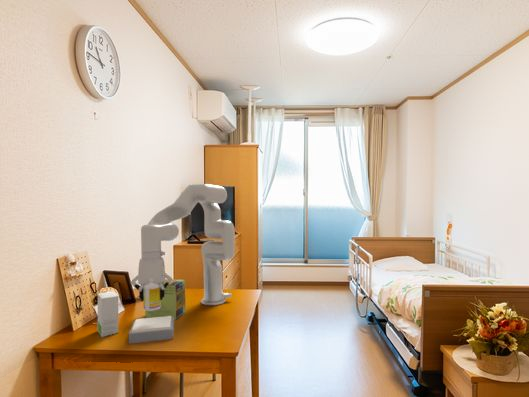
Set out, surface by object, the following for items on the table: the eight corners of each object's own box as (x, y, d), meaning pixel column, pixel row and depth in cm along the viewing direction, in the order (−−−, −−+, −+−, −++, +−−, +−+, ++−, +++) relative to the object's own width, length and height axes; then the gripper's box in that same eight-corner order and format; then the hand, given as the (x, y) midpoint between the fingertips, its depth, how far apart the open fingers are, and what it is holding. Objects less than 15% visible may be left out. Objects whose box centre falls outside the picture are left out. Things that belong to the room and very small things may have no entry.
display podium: (174, 325, 142) (173, 314, 142) (173, 338, 128) (172, 327, 128) (134, 329, 138) (134, 318, 138) (128, 343, 125) (128, 331, 125)
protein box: (176, 320, 148) (175, 285, 148) (144, 318, 151) (144, 284, 151) (186, 312, 158) (185, 279, 158) (156, 310, 161) (156, 278, 161)
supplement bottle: (164, 306, 135) (163, 275, 135) (153, 312, 129) (153, 279, 129) (150, 305, 137) (150, 274, 137) (139, 310, 131) (139, 278, 131)
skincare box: (97, 331, 137) (96, 293, 137) (114, 326, 141) (113, 290, 141) (101, 337, 131) (101, 298, 130) (119, 333, 135) (118, 294, 134)
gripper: (174, 252, 139) (174, 295, 139) (129, 254, 135) (130, 298, 135) (173, 255, 131) (174, 300, 132) (126, 258, 127) (127, 304, 127)
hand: (152, 299), depth 133 cm, fingers closed on supplement bottle, 6 cm apart
